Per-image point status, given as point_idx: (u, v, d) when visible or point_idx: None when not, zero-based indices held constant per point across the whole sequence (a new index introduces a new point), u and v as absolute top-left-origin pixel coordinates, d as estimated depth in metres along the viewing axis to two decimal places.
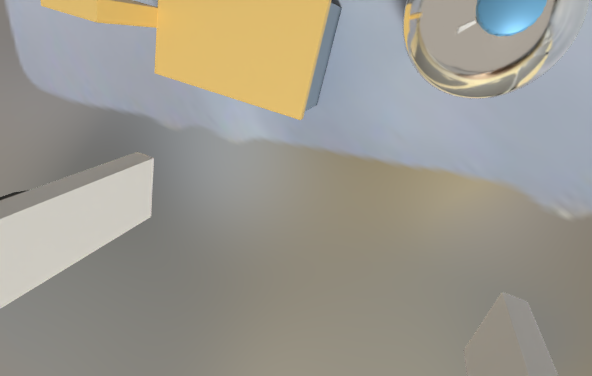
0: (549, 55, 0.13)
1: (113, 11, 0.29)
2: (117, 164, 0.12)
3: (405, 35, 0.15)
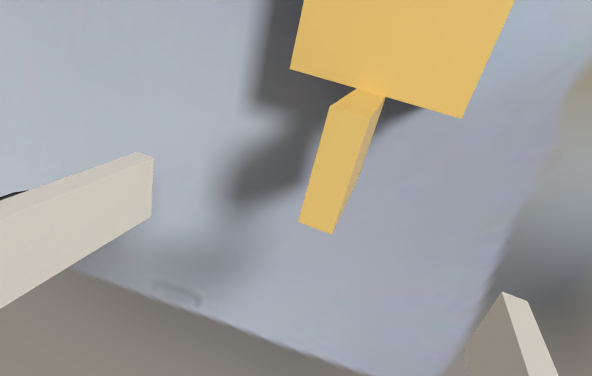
0: None
1: (354, 105, 0.16)
2: (117, 164, 0.12)
3: None
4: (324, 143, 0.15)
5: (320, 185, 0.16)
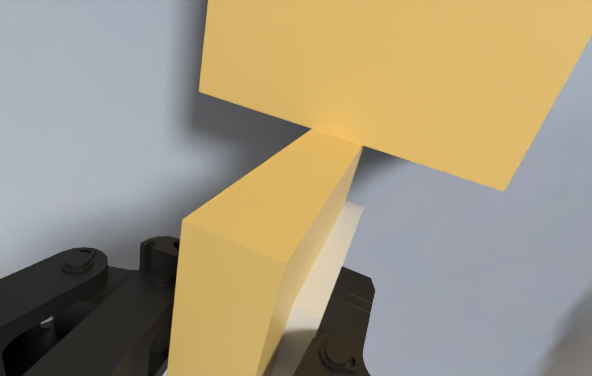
0: None
1: (270, 196, 0.07)
2: None
3: None
4: (184, 301, 0.06)
5: None
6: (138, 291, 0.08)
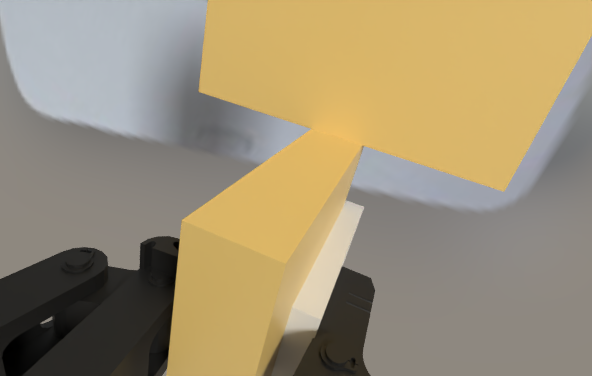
0: None
1: (270, 196, 0.07)
2: None
3: None
4: (184, 302, 0.06)
5: None
6: (138, 291, 0.08)
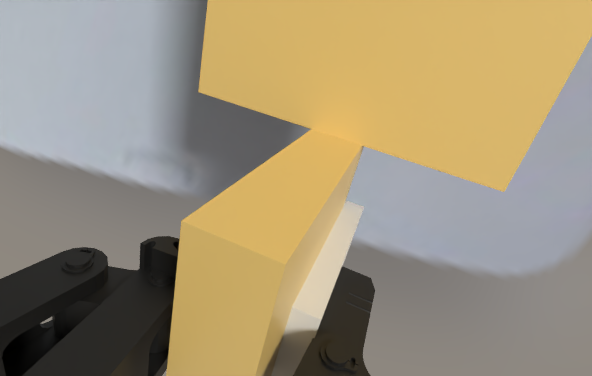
0: None
1: (269, 197, 0.07)
2: None
3: None
4: (184, 302, 0.06)
5: None
6: (138, 291, 0.08)
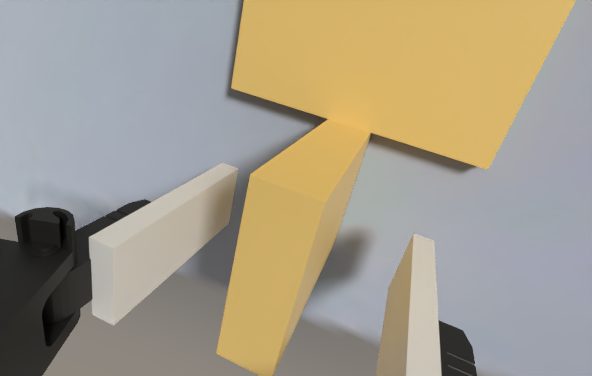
0: None
1: (305, 163, 0.09)
2: (211, 175, 0.13)
3: None
4: (246, 238, 0.08)
5: (246, 304, 0.09)
6: (20, 263, 0.08)
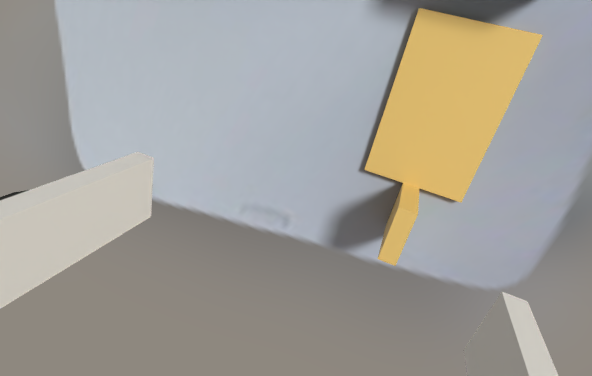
0: None
1: (407, 203, 0.33)
2: (117, 164, 0.12)
3: None
4: (394, 223, 0.33)
5: (391, 241, 0.33)
6: None
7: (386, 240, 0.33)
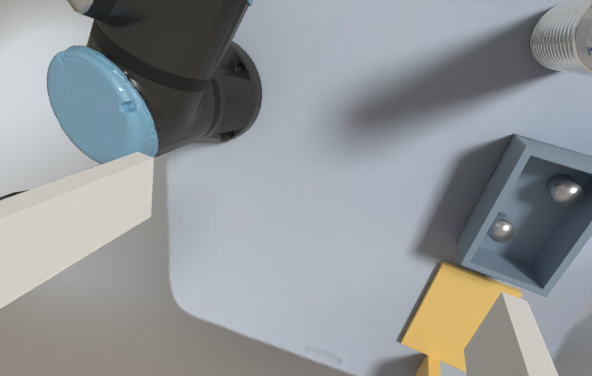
0: None
1: None
2: (117, 164, 0.12)
3: None
4: None
5: None
6: None
7: None
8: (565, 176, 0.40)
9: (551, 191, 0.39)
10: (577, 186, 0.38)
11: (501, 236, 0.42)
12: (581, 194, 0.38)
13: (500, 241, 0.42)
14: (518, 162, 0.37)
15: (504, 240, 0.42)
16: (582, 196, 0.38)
